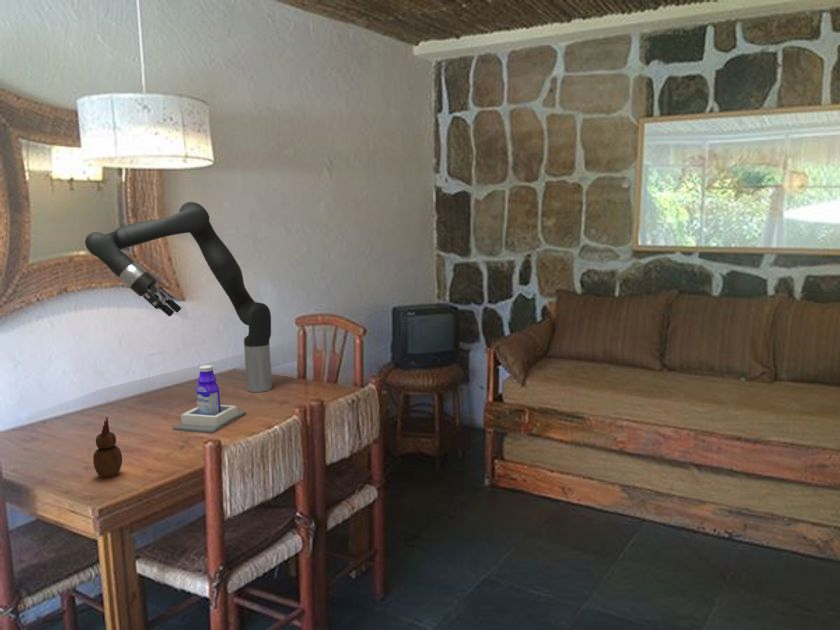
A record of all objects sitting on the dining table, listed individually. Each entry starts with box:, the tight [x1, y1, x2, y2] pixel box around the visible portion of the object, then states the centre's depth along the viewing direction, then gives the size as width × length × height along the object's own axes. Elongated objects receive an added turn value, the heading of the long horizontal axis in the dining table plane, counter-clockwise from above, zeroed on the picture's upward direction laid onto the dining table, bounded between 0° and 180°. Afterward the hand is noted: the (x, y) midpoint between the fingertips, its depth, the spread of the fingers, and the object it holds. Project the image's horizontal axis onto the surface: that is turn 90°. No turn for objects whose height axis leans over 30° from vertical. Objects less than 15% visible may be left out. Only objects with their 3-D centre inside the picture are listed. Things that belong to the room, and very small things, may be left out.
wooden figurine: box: [92, 416, 123, 478], centre depth 173 cm, size 7×6×15 cm
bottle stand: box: [171, 404, 247, 434], centre depth 217 cm, size 20×14×4 cm
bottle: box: [196, 364, 221, 416], centre depth 216 cm, size 7×6×17 cm
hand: (175, 312), depth 225 cm, fingers open, 8 cm apart
